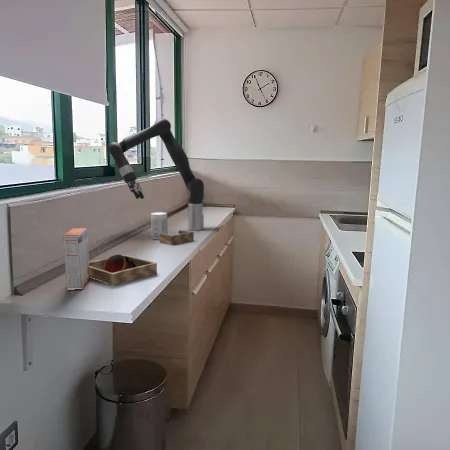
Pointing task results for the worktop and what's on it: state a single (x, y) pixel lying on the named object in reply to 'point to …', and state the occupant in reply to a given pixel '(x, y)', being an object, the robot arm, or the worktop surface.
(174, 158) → the robot arm
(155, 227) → the supplement tub
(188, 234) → the cradle
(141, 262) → the fruit corral
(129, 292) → the worktop surface
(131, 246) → the worktop surface
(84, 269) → the cracker box
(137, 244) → the worktop surface
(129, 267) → the red oval lump
